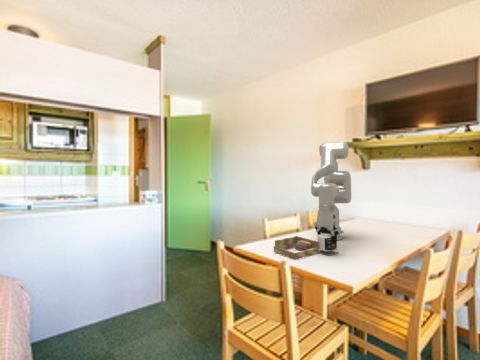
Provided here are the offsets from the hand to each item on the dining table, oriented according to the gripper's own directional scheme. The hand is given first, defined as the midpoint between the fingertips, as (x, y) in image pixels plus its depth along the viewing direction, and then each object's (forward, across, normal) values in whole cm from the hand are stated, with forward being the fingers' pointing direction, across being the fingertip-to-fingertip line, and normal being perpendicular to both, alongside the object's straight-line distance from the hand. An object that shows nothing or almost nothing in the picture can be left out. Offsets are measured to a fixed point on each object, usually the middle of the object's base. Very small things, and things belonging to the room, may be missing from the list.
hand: (326, 241), depth 139 cm
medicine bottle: (+4, 0, 0) cm, 4 cm away
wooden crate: (+6, +10, +12) cm, 17 cm away
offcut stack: (+6, +10, +7) cm, 13 cm away
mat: (+6, 0, 0) cm, 6 cm away
